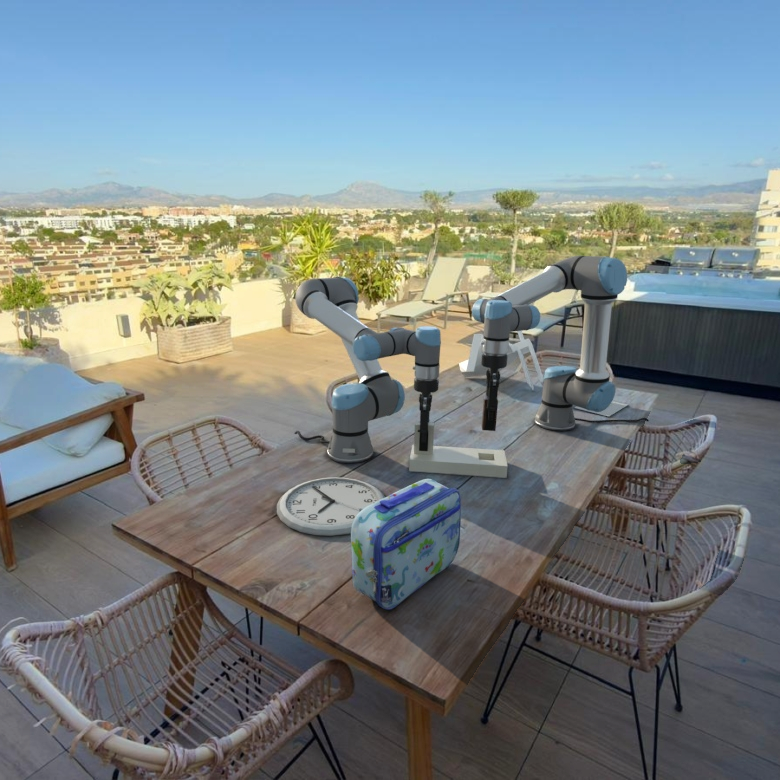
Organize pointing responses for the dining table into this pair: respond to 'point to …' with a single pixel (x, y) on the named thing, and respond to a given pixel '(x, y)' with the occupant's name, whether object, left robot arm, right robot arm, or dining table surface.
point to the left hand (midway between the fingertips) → (423, 448)
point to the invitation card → (608, 409)
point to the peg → (485, 414)
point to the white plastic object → (518, 349)
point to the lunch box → (405, 541)
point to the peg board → (456, 458)
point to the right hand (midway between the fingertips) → (488, 426)
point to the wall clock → (326, 505)
